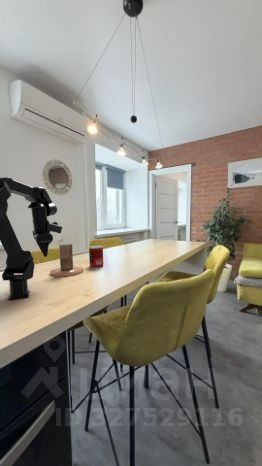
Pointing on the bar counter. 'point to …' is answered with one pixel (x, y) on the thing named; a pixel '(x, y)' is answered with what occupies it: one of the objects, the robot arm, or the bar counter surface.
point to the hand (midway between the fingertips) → (44, 254)
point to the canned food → (96, 256)
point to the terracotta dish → (66, 272)
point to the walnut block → (66, 257)
